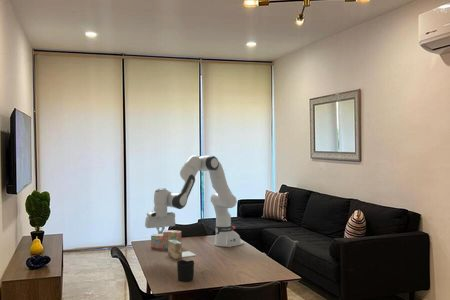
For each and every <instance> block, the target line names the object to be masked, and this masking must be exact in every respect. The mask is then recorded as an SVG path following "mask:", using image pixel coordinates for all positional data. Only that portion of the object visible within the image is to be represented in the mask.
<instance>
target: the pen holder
mask: <svg viewBox="0 0 450 300" xmlns="http://www.w3.org/2000/svg"><path fill="white" fill-rule="evenodd" d="M176 265H177V266H176V269H177V280H178V281H179V282H183V283H187V282H188V283H189V282H192V281H193V280H194V277H195V275H194V274H195V261H194V260H192V259H191V260H188V261H187V260H184V259H183V260H182V259H180V260H179V259H178V261H177V262H176Z"/></svg>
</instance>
